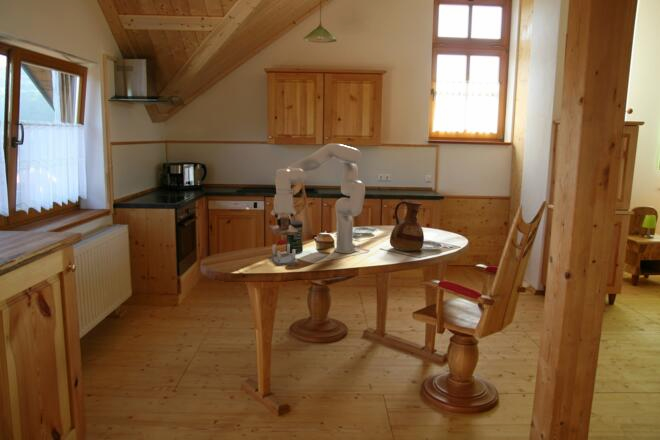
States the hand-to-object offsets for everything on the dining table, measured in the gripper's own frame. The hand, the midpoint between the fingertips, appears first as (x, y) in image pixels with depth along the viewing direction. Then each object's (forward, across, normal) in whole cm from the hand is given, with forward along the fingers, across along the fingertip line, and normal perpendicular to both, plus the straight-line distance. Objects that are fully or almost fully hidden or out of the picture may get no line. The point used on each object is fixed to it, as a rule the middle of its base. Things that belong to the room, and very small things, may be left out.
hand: (283, 225), depth 281 cm
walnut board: (+3, 0, 0) cm, 3 cm away
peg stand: (+19, 0, 0) cm, 19 cm away
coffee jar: (+20, -10, -18) cm, 28 cm away
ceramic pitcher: (+19, -76, -7) cm, 79 cm away
